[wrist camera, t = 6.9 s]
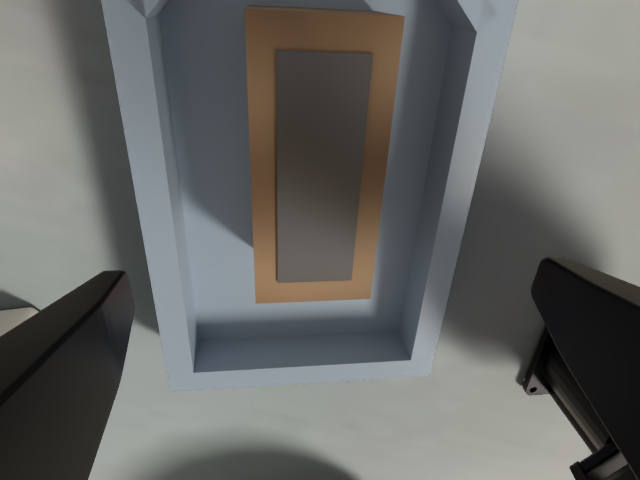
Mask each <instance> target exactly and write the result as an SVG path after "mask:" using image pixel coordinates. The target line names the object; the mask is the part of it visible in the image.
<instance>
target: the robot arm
mask: <svg viewBox="0 0 640 480" xmlns="http://www.w3.org/2000/svg"><path fill="white" fill-rule="evenodd" d="M531 294H532V298H533V300H534V302H535V304H536V306H537V308H538V310H539V312H540V315H541V317H542V319H543V321H544V323H545V325H546V327H545V330H544V333H543V335H542V338H541V340H540V343H539V345H538V348H537V351H536V353H535V356H534V358H533V361H532V363H531V366H530V369H529V371H528V374H527V376H526V379H525V381H524V384H523V389H524V391H525V392H526V394H528V395H542V394H550V395H551V396H552V398H553V399H554V400H555V402H556V403H557V405H558V406H559V407H560V409H561V410H562V412H563V413H564V414H565V416H566V417H567V418H568V420H569V421H570V423H571V424H572V425H573V427H574V428H575V430H576V431H577V432H578V434H579V435H580V436H581V438H582V439H583V441H584V442H585V443H586V445H587V446H588V448H589V449H590V450H591V452H592V453H593V454H591V455H590V456H588V457H587V458H585V459H584V460H582V461H581V462H578V461H577V462H576V463H574V464H573V465H571V466H570V470H571V472H572V474H573V476H574V478H575V480H640V287H638V286H636V285H633V284H631V283H628V282H626V281H623V280H620V279H618V278H615V277H613V276H610V275H608V274H605V273H602V272H600V271H597V270H595V269H592V268H590V267H587V266H584V265H582V264H579V263H577V262H574V261H572V260H569V259H566V258H564V257H546V258H544V259H543V260H542V261H541V262H540V264H539V267H538V270H537V273H536V275H535V278H534V281H533V284H532V287H531ZM133 316H134V302H133V297H132V292H131V287H130V282H129V278H128V275H127V273H126V272H125V271H123V270H115V271H103V272H101V273H100V274H98V275H96V276H95V277H93V278H92V279H90V280H89V281H87V282H85V283H84V284H82V285H81V286H79V287H77V288H76V289H74V290H73V291H71V292H70V293H68V294H66V295H65V296H63V297H62V298H60V299H58V300H57V301H55V302H54V303H52V304H51V305H49V306H47V307H46V308H44V309H43V310H41V311H39V312H38V313H36V314H35V315H33V316H32V317H30V318H28V319H27V320H25V321H24V322H22V323H20V324H19V325H17V326H16V327H14V328H13V329H11V330H9V331H8V332H6V333H5V334H3V335H1V336H0V480H88V478H89V475H90V472H91V469H92V466H93V463H94V460H95V457H96V454H97V451H98V448H99V445H100V442H101V439H102V436H103V433H104V430H105V427H106V424H107V421H108V418H109V415H110V412H111V409H112V406H113V403H114V400H115V397H116V394H117V391H118V387H119V384H120V381H121V376H122V372H123V367H124V362H125V357H126V352H127V347H128V342H129V337H130V332H131V326H132V321H133Z"/></svg>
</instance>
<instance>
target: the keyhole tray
mask: <svg viewBox="0 0 640 480" xmlns="http://www.w3.org/2000/svg"><path fill="white" fill-rule="evenodd" d="M518 1H519V0H101V3H102V9H103V15H104V20H105V26H106V32H107V37H108V43H109V49H110V54H111V60H112V66H113V71H114V77H115V83H116V88H117V94H118V100H119V105H120V111H121V117H122V122H123V128H124V134H125V139H126V145H127V151H128V156H129V162H130V168H131V173H132V179H133V185H134V190H135V196H136V202H137V207H138V213H139V219H140V224H141V230H142V236H143V241H144V247H145V253H146V258H147V264H148V270H149V275H150V281H151V287H152V292H153V298H154V304H155V309H156V315H157V321H158V326H159V332H160V338H161V343H162V349H163V355H164V360H165V366H166V372H167V377H168V383H169V389H170V392H183V391H199V390H215V389H231V388H247V387H263V386H279V385H295V384H311V383H327V382H343V381H359V380H374V379H390V378H406V377H422V376H430V373H431V369H432V365H433V361H434V356H435V352H436V348H437V344H438V339H439V335H440V331H441V327H442V322H443V318H444V314H445V310H446V306H447V301H448V297H449V293H450V289H451V284H452V280H453V276H454V272H455V267H456V263H457V259H458V255H459V250H460V246H461V242H462V238H463V234H464V229H465V225H466V221H467V217H468V212H469V208H470V204H471V200H472V195H473V191H474V187H475V183H476V178H477V174H478V170H479V166H480V162H481V157H482V153H483V149H484V145H485V140H486V136H487V132H488V128H489V123H490V119H491V115H492V111H493V107H494V102H495V98H496V94H497V90H498V85H499V81H500V77H501V73H502V68H503V64H504V60H505V56H506V51H507V47H508V43H509V39H510V35H511V30H512V26H513V22H514V18H515V13H516V9H517V5H518ZM247 5H258V6H280V7H303V8H326V9H348V10H371V11H378V12H384V13H389V14H395V15H401V16H405V21H404V29H403V37H402V45H401V53H400V61H399V69H398V77H397V86H396V94H395V102H394V110H393V118H392V126H391V134H390V142H389V151H388V159H387V167H386V175H385V183H384V191H383V199H382V208H381V216H380V224H379V232H378V240H377V248H376V256H375V264H374V273H373V281H372V289H371V297H370V299H359V300H334V301H310V302H286V303H262V304H256V300H255V274H254V247H253V221H252V195H251V168H250V142H249V116H248V90H247V63H246V37H245V11H244V9H245V8H246V7H247Z"/></svg>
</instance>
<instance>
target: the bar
mask: <svg viewBox="0 0 640 480" xmlns="http://www.w3.org/2000/svg"><path fill="white" fill-rule="evenodd" d="M244 11H245V37H246V63H247V90H248V116H249V142H250V168H251V195H252V221H253V247H254V274H255V300H256V304H262V303H286V302H310V301H334V300H359V299H370V297H371V289H372V281H373V273H374V264H375V256H376V248H377V240H378V232H379V224H380V216H381V208H382V199H383V191H384V183H385V175H386V167H387V159H388V151H389V142H390V134H391V126H392V118H393V110H394V102H395V94H396V86H397V77H398V69H399V61H400V53H401V45H402V37H403V29H404V21H405V16H401V15H395V14H389V13H384V12H378V11H371V10H348V9H326V8H303V7H280V6H258V5H247V7H246V8H245V9H244Z"/></svg>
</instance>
